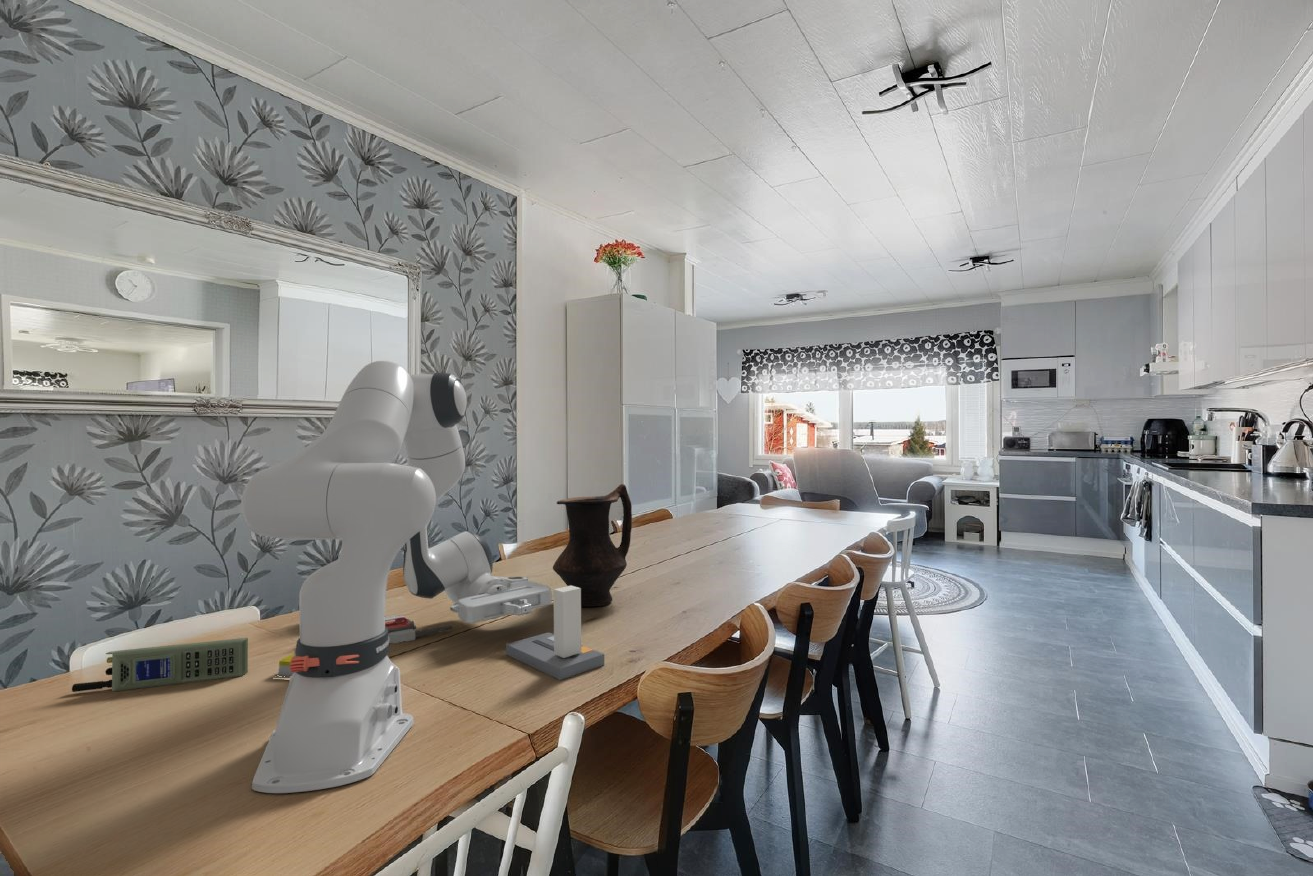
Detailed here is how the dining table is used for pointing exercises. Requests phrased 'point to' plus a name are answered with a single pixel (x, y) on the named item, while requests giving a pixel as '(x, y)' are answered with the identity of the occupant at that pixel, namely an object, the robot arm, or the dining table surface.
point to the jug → (594, 546)
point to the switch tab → (567, 621)
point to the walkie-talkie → (406, 629)
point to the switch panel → (553, 656)
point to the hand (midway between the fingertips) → (525, 610)
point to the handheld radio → (173, 665)
